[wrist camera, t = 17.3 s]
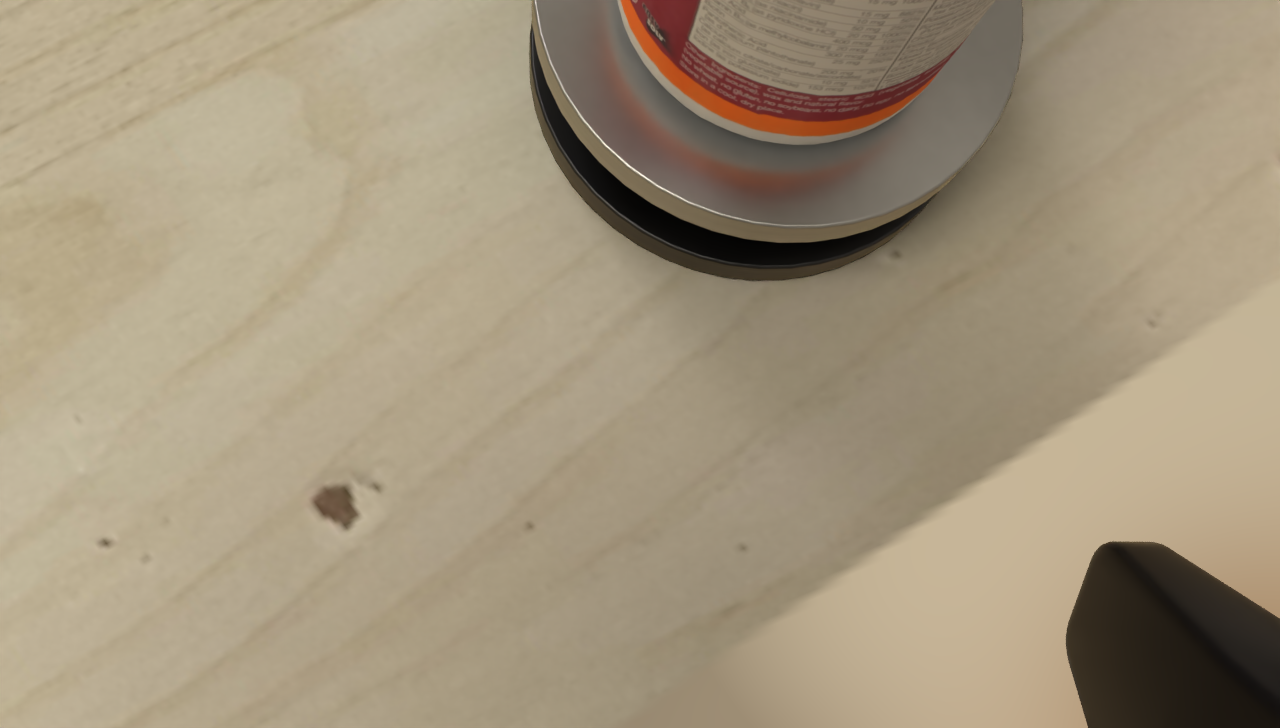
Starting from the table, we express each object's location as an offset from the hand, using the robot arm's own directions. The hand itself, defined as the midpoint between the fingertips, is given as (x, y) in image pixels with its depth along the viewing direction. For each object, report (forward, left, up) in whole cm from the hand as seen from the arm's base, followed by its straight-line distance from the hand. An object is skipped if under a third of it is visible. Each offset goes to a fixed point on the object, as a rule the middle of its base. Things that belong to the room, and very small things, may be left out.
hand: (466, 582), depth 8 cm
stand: (+8, -9, -13) cm, 18 cm away
